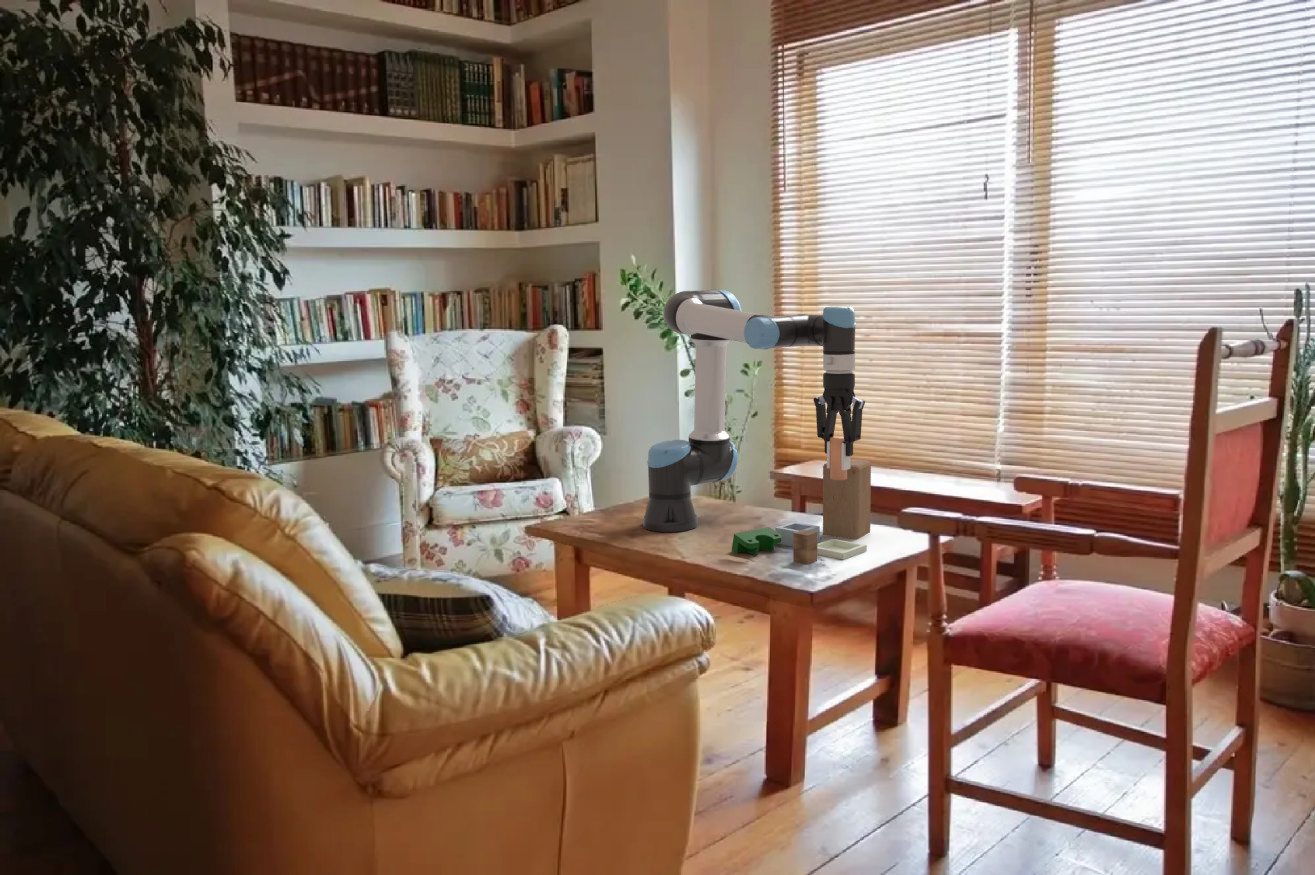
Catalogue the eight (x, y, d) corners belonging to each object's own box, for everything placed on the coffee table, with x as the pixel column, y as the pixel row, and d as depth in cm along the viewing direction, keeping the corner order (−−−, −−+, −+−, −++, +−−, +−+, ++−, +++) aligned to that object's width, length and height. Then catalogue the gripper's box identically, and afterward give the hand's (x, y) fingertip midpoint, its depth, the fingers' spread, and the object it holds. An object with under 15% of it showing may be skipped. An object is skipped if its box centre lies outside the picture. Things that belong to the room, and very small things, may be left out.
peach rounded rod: (827, 479, 250) (826, 438, 248) (836, 476, 253) (836, 436, 251) (841, 480, 247) (840, 439, 246) (850, 478, 250) (850, 437, 248)
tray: (809, 556, 253) (809, 546, 252) (832, 548, 260) (832, 538, 260) (843, 563, 246) (843, 553, 246) (866, 554, 253) (866, 545, 253)
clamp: (749, 575, 253) (743, 547, 248) (735, 565, 258) (728, 537, 253) (787, 551, 257) (781, 523, 252) (772, 541, 262) (766, 513, 257)
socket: (775, 546, 263) (775, 527, 262) (794, 540, 268) (794, 521, 267) (800, 552, 257) (800, 532, 256) (819, 545, 263) (819, 526, 262)
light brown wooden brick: (793, 565, 245) (793, 532, 244) (803, 562, 248) (803, 529, 247) (807, 568, 242) (807, 535, 241) (817, 565, 245) (817, 532, 244)
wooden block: (857, 543, 264) (858, 466, 261) (821, 538, 270) (821, 463, 266) (871, 534, 273) (872, 460, 270) (836, 530, 278) (836, 457, 275)
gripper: (801, 371, 249) (801, 466, 253) (859, 374, 238) (859, 474, 241) (819, 369, 254) (819, 462, 258) (877, 372, 243) (876, 469, 246)
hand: (838, 468), depth 249 cm, fingers closed on peach rounded rod, 3 cm apart
